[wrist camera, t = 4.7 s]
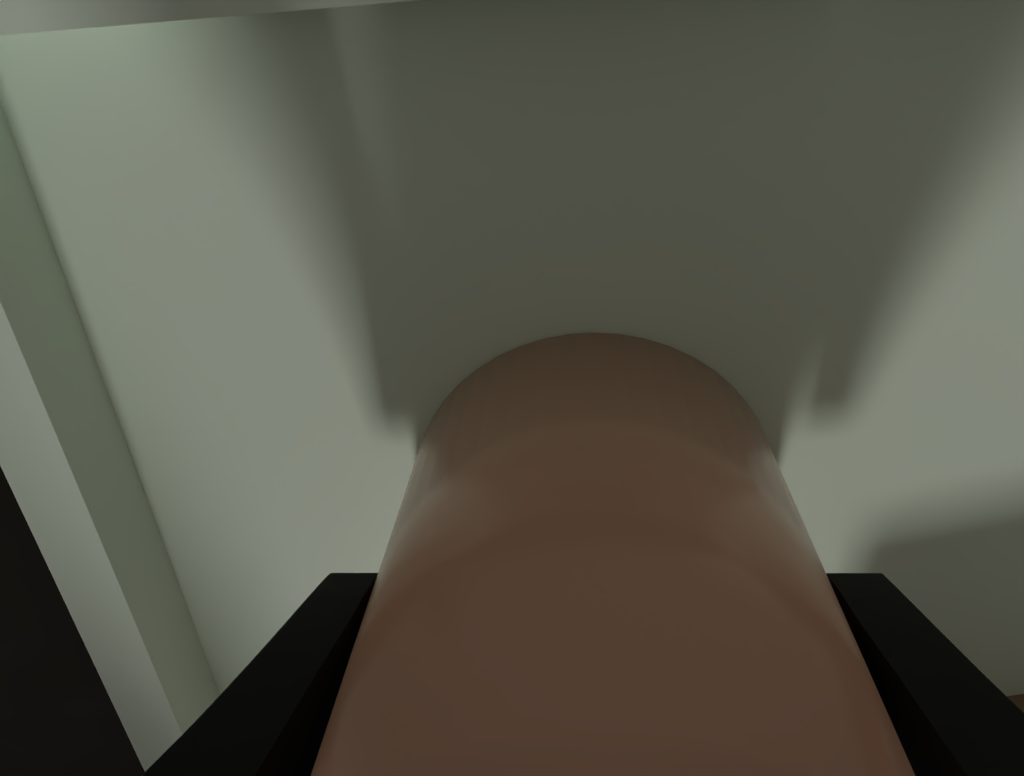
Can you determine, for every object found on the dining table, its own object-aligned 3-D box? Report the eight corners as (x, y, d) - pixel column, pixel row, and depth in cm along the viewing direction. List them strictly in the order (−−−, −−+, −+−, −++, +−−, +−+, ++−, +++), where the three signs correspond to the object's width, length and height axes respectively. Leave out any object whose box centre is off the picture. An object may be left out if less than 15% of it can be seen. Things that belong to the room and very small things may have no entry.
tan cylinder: (775, 613, 12) (942, 1120, 6) (454, 635, 12) (367, 1109, 7) (772, 308, 9) (1030, 714, 4) (377, 358, 10) (164, 758, 5)
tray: (1093, 884, 15) (1152, 987, 14) (255, 849, 17) (221, 936, 16) (1659, -226, 7) (1980, -290, 5) (-100, -53, 9) (-249, -62, 7)
